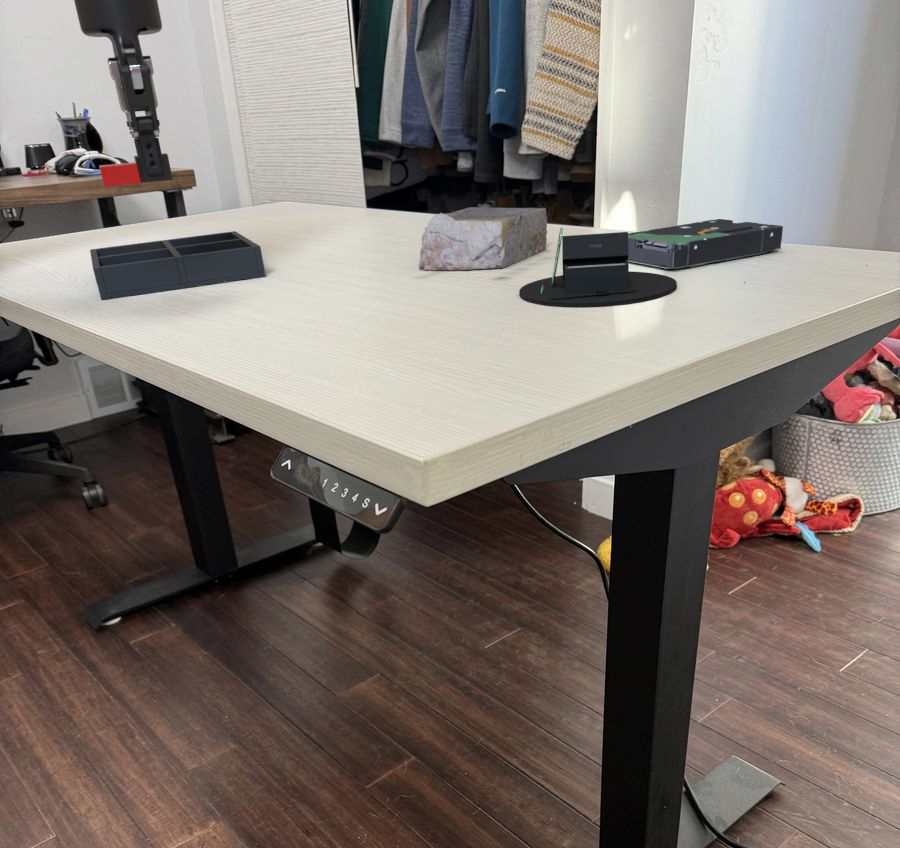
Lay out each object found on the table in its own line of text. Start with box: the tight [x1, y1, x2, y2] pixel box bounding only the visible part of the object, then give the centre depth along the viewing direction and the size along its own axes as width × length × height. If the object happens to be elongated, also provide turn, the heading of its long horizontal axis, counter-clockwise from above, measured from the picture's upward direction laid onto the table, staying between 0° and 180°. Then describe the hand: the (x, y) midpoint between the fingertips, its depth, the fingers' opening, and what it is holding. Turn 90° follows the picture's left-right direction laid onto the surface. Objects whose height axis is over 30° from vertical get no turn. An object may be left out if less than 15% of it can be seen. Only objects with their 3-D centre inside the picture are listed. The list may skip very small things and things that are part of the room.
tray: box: [89, 230, 266, 301], centre depth 110 cm, size 19×19×4 cm
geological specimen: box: [418, 206, 548, 272], centre depth 103 cm, size 11×6×15 cm
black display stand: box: [518, 227, 678, 308], centre depth 82 cm, size 15×15×6 cm
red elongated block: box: [98, 152, 174, 187], centre depth 88 cm, size 7×3×2 cm, turn 111°
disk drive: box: [628, 218, 784, 270], centre depth 94 cm, size 10×3×15 cm
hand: (154, 177), depth 89 cm, fingers closed on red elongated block, 2 cm apart
